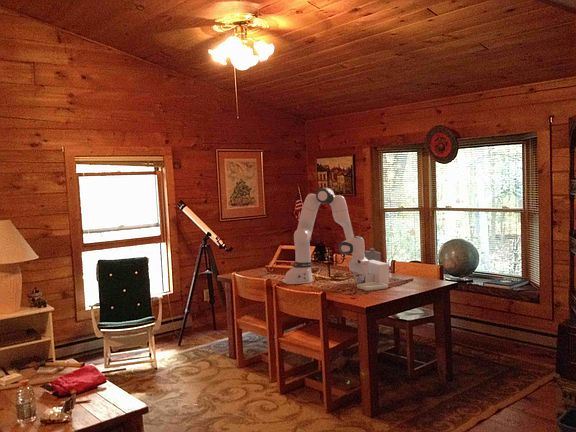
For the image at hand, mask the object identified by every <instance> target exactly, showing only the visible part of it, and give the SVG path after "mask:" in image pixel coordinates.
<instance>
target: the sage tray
mask: <svg viewBox="0 0 576 432" xmlns="http://www.w3.org/2000/svg"><path fill="white" fill-rule="evenodd" d="M356 288H357V289H360V290H362V289H363V291H364V292H370V291H378V290H386V289H389V284H384V283H381V282H370V283H356Z"/></svg>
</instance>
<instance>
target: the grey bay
mask: <svg viewBox="0 0 576 432" xmlns="http://www.w3.org/2000/svg"><path fill="white" fill-rule="evenodd" d="M368 265H369V273H368V274H369V275H365V283H370V282H381V283H384V284H388V285H389V284H390V263H388V262H385V261H384V262H383V261H381V262H380V261H376V260H369V263H368ZM358 274H359V273H358ZM358 277H360V274H359V276H358Z"/></svg>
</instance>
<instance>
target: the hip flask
mask: <svg viewBox="0 0 576 432" xmlns="http://www.w3.org/2000/svg"><path fill="white" fill-rule="evenodd" d="M364 253H365V257H366V258H367V259H368V260H376V261H380V262H382V261H381V256H382V255H381V254H382V253H381V251H376V250H375V248H373V247H371V248H369V250H364Z"/></svg>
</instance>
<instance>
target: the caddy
mask: <svg viewBox="0 0 576 432" xmlns="http://www.w3.org/2000/svg"><path fill="white" fill-rule="evenodd" d="M368 275H369V274H368ZM361 278H362V274H360V277H359V276H357V277H355V278H354V279H355V283H356V284H361V283H365V277H364V280H363V281H362V280H361Z"/></svg>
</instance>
